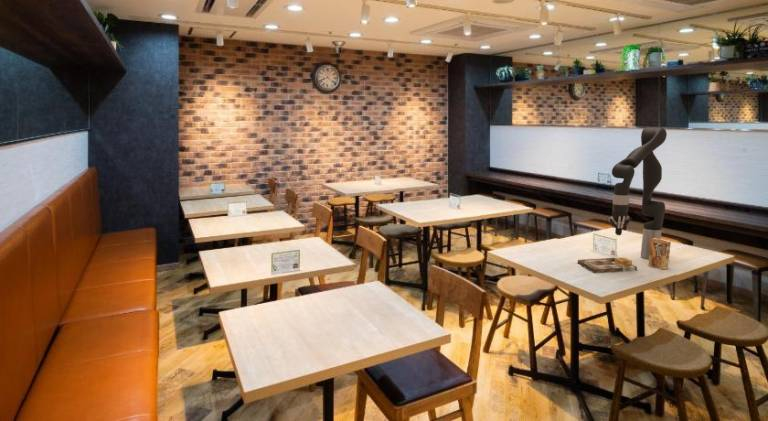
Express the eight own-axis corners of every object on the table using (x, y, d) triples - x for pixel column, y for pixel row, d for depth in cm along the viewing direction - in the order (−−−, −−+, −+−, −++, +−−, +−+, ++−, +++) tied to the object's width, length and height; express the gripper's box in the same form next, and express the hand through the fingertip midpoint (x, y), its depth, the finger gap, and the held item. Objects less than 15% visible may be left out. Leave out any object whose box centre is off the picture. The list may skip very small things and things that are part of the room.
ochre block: (624, 262, 264) (625, 257, 263) (631, 266, 258) (632, 260, 257) (614, 263, 263) (614, 257, 262) (621, 266, 257) (621, 261, 256)
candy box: (668, 268, 259) (671, 240, 256) (664, 269, 257) (667, 242, 254) (651, 264, 266) (654, 237, 263) (647, 265, 264) (650, 238, 261)
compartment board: (617, 261, 273) (617, 255, 272) (636, 270, 256) (637, 264, 256) (577, 263, 270) (578, 257, 269) (594, 272, 253) (594, 266, 253)
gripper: (628, 200, 257) (625, 232, 261) (604, 202, 256) (602, 233, 259) (637, 203, 250) (634, 235, 254) (613, 205, 248) (610, 237, 252)
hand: (618, 234), depth 257 cm, fingers closed
